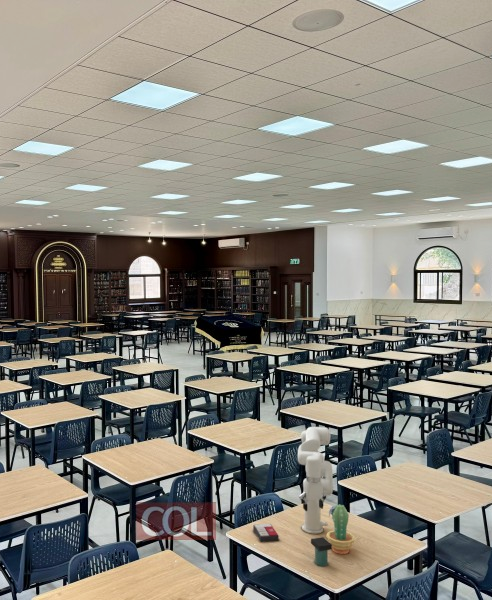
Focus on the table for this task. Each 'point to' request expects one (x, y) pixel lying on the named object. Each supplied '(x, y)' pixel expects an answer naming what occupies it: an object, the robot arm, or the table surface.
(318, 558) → the cup
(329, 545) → the black box
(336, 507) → the potted cactus
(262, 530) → the calculator
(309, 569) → the table surface
